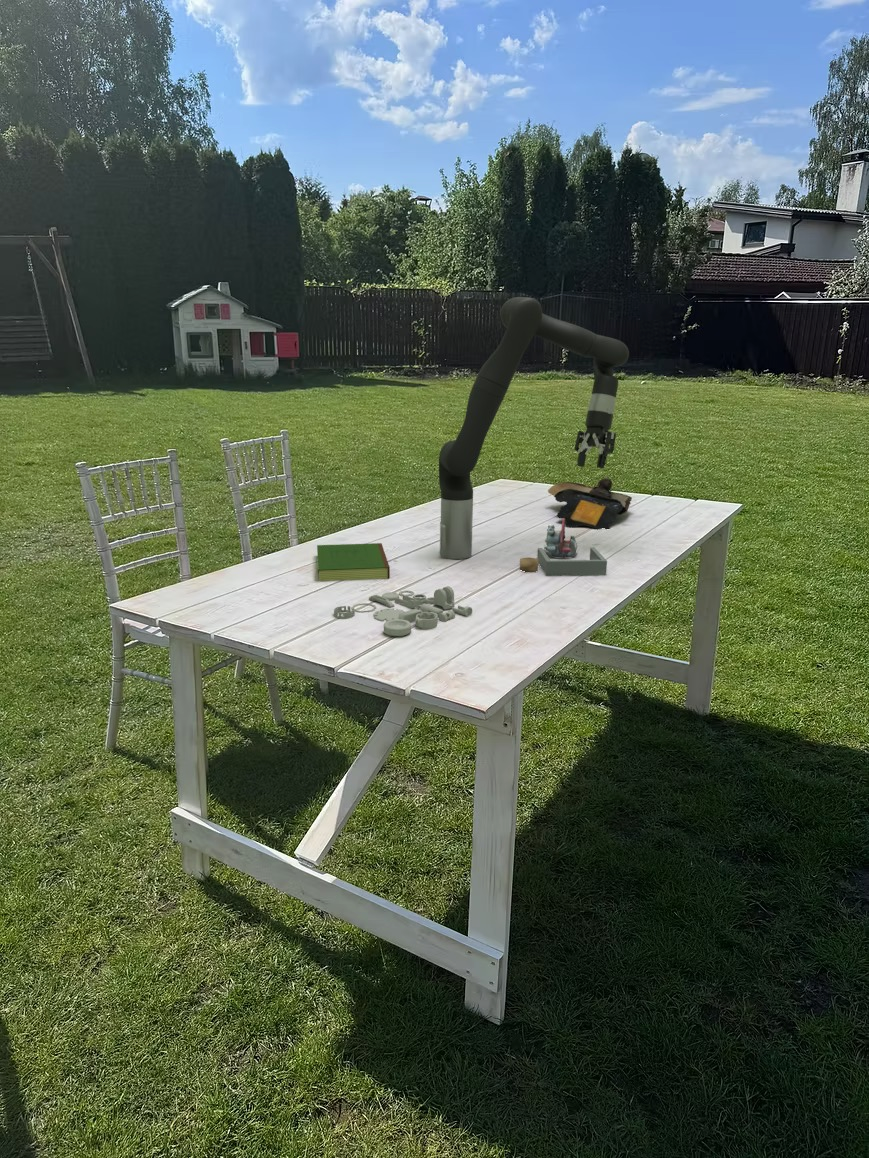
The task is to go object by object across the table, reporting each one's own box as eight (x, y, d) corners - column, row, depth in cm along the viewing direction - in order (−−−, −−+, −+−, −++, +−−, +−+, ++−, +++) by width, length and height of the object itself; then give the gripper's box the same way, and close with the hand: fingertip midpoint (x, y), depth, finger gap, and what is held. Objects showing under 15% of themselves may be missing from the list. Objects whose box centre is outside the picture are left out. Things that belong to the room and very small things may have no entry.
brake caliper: (584, 553, 224) (560, 519, 223) (552, 573, 228) (529, 540, 226) (585, 543, 235) (563, 510, 233) (555, 562, 238) (532, 530, 237)
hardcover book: (389, 580, 208) (389, 567, 207) (318, 583, 206) (318, 569, 204) (381, 554, 232) (381, 542, 231) (317, 556, 229) (317, 544, 228)
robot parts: (324, 615, 184) (323, 594, 182) (403, 591, 200) (403, 571, 199) (395, 645, 167) (394, 621, 165) (475, 615, 183) (475, 594, 182)
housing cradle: (546, 575, 211) (546, 561, 210) (537, 561, 224) (537, 547, 223) (606, 575, 212) (607, 560, 211) (593, 560, 225) (594, 547, 224)
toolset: (632, 529, 256) (568, 478, 255) (593, 570, 266) (531, 521, 265) (639, 489, 290) (583, 444, 289) (604, 526, 300) (549, 483, 299)
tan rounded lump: (521, 573, 214) (521, 562, 213) (518, 567, 219) (518, 557, 218) (539, 573, 214) (539, 562, 213) (536, 567, 219) (536, 557, 218)
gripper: (574, 409, 232) (564, 464, 233) (608, 408, 220) (597, 466, 221) (593, 414, 236) (583, 468, 237) (627, 414, 224) (616, 470, 225)
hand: (590, 467), depth 229 cm, fingers open, 8 cm apart
